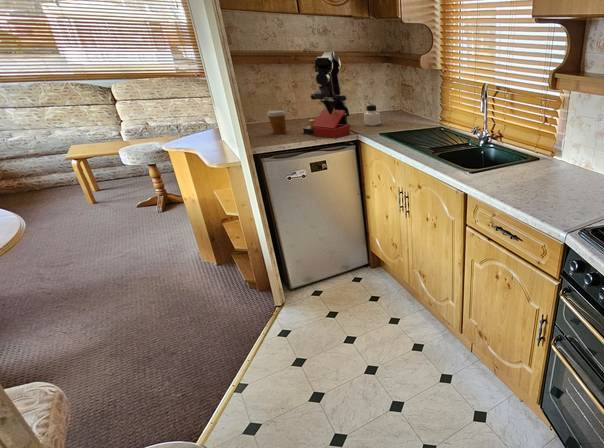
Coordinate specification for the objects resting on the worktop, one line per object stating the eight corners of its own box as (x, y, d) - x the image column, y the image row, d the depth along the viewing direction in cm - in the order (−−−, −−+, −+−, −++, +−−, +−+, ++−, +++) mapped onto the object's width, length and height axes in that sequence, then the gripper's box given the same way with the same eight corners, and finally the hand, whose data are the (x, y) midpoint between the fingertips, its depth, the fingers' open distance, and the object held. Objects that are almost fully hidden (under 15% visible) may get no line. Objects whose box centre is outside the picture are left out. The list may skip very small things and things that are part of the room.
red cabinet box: (329, 131, 236) (327, 123, 234) (350, 133, 231) (348, 125, 229) (314, 135, 225) (312, 127, 223) (335, 138, 221) (334, 129, 219)
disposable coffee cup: (292, 131, 235) (288, 110, 230) (283, 134, 226) (279, 113, 221) (276, 130, 235) (272, 109, 230) (267, 134, 227) (262, 112, 222)
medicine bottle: (381, 124, 257) (379, 104, 252) (372, 126, 251) (370, 106, 246) (372, 122, 260) (371, 103, 255) (364, 124, 255) (362, 105, 250)
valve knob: (309, 127, 230) (308, 120, 228) (310, 126, 233) (309, 118, 232) (317, 127, 230) (316, 120, 228) (318, 126, 234) (317, 118, 232)
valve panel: (314, 130, 239) (314, 124, 237) (326, 131, 236) (326, 125, 235) (302, 133, 230) (301, 127, 229) (314, 134, 228) (314, 129, 226)
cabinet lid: (324, 109, 229) (319, 103, 225) (345, 111, 225) (341, 105, 221) (312, 126, 223) (308, 120, 219) (334, 129, 219) (330, 122, 215)
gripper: (300, 83, 206) (305, 114, 213) (330, 85, 200) (334, 117, 207) (316, 81, 216) (320, 111, 222) (345, 83, 209) (348, 114, 216)
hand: (330, 113), depth 216 cm, fingers closed
